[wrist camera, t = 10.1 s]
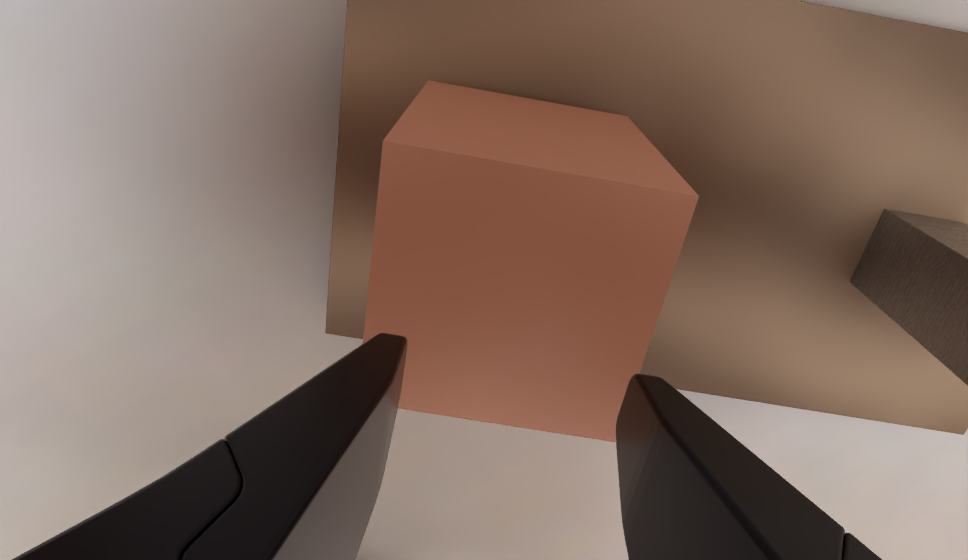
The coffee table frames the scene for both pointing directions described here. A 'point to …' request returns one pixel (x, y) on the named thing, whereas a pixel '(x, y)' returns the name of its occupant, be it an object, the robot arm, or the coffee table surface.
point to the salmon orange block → (522, 257)
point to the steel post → (921, 281)
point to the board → (711, 170)
